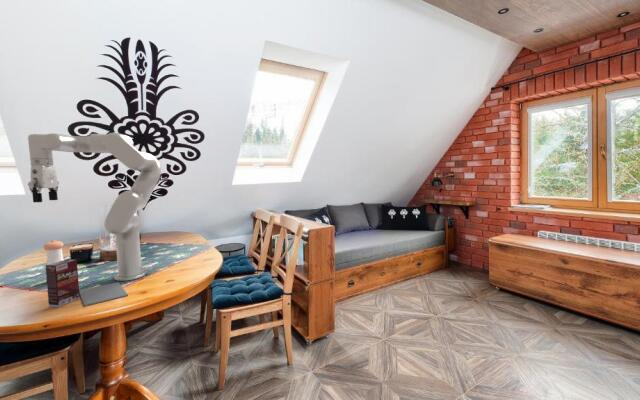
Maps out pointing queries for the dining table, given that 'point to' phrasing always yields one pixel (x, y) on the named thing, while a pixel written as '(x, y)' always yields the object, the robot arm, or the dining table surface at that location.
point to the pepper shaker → (54, 251)
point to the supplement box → (62, 282)
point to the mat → (102, 293)
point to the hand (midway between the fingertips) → (46, 201)
